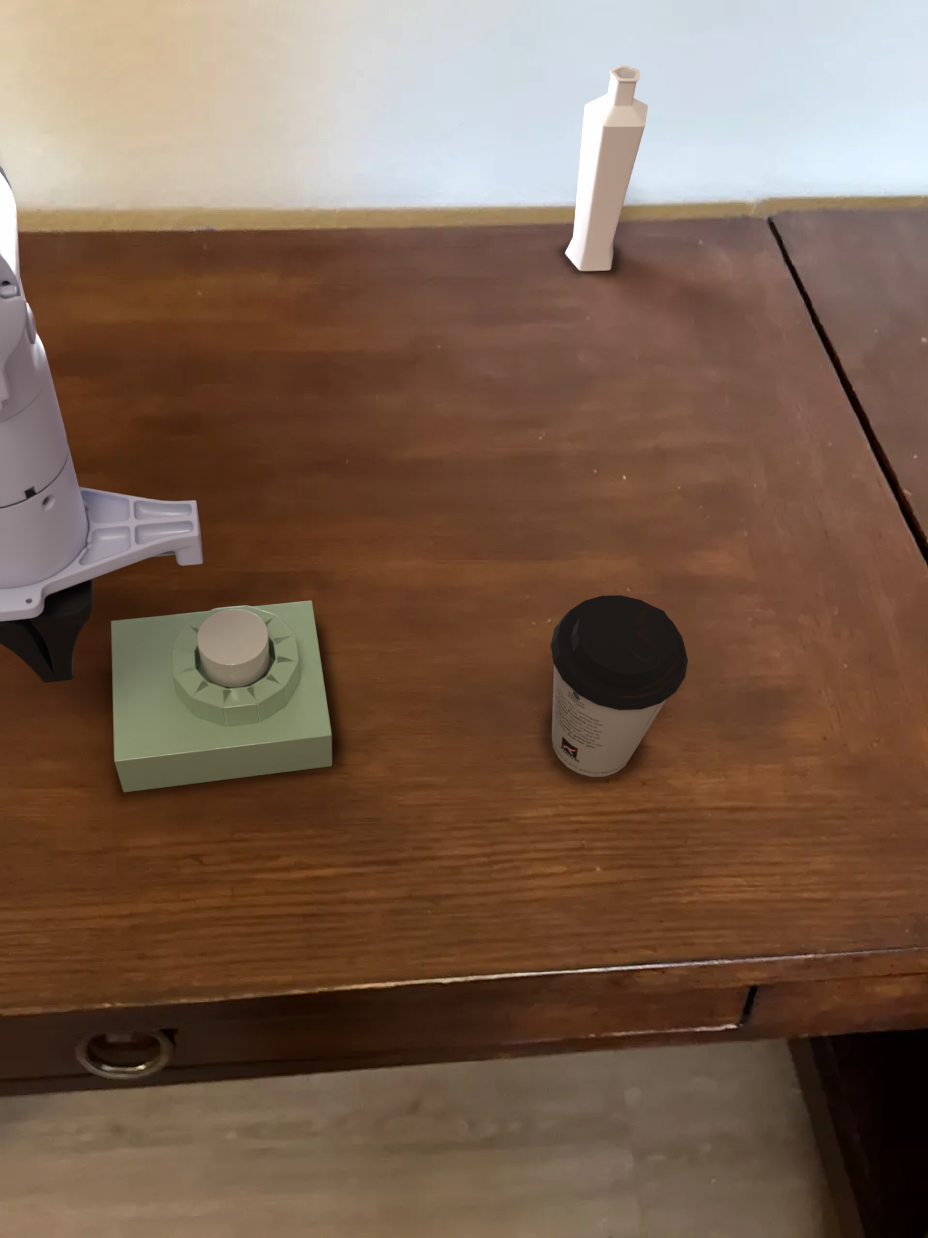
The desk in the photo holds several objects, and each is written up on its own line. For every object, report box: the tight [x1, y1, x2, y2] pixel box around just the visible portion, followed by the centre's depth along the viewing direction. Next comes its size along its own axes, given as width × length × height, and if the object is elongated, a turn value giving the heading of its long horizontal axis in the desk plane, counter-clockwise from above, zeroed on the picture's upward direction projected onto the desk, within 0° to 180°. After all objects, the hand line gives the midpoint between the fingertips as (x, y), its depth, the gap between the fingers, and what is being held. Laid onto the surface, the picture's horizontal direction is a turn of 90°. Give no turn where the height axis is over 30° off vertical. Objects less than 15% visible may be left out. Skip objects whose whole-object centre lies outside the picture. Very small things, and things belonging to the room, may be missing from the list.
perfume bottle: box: [564, 64, 649, 272], centre depth 89 cm, size 5×4×15 cm
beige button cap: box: [197, 609, 270, 687], centre depth 63 cm, size 4×4×2 cm
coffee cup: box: [550, 594, 689, 778], centre depth 64 cm, size 7×7×10 cm
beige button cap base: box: [110, 600, 333, 793], centre depth 65 cm, size 11×9×5 cm
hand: (58, 664), depth 56 cm, fingers closed
